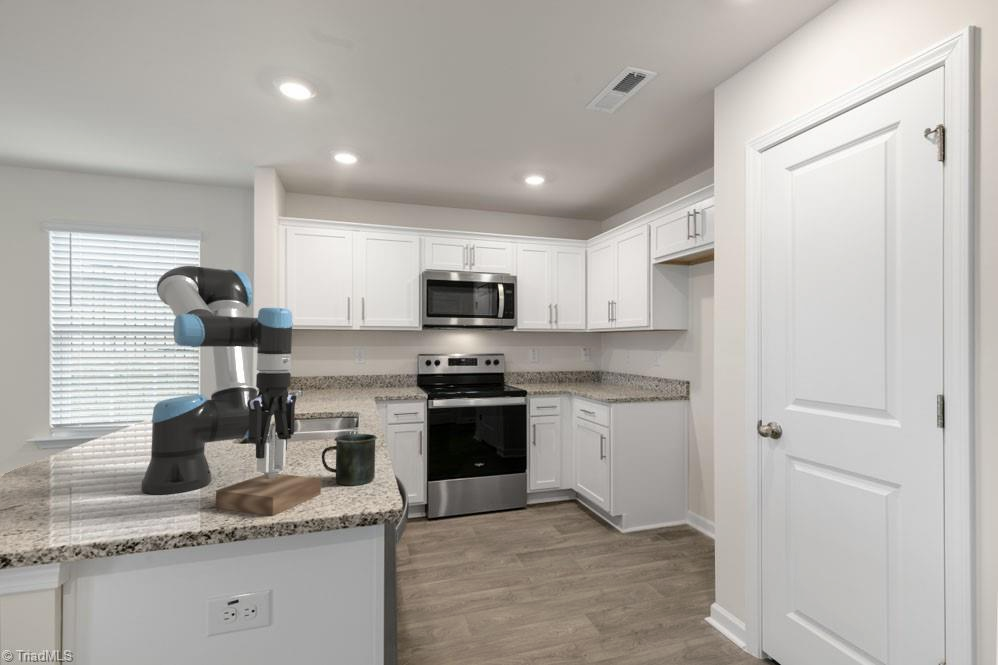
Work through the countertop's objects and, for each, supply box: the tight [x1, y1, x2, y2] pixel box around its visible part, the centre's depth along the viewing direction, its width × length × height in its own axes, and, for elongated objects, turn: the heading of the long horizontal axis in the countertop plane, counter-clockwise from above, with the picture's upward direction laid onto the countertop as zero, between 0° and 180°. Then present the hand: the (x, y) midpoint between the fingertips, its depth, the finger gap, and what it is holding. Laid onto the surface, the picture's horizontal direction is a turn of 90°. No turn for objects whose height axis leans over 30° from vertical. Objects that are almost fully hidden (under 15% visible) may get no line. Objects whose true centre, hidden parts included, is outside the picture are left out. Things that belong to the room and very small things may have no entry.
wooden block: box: [215, 473, 322, 517], centre depth 112 cm, size 16×16×4 cm
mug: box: [321, 433, 378, 486], centre depth 129 cm, size 11×15×12 cm
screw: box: [261, 423, 283, 479], centre depth 112 cm, size 13×5×5 cm
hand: (271, 468), depth 112 cm, fingers closed on screw, 5 cm apart
